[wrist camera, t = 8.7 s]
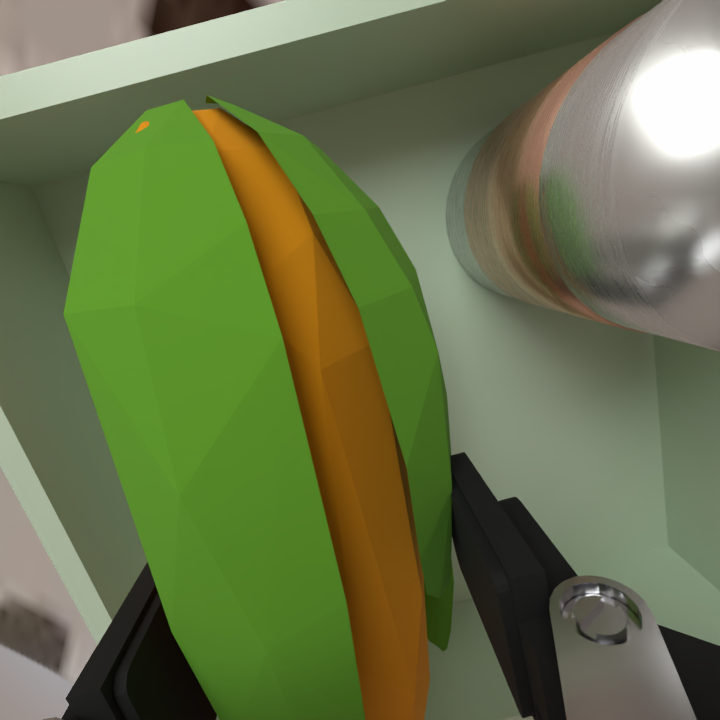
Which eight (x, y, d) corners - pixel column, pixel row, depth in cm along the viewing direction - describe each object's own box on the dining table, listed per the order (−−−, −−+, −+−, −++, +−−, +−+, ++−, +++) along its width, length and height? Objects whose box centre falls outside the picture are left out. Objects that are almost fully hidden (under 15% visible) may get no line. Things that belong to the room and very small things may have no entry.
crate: (11, 173, 15) (-185, 125, 9) (639, 5, 15) (828, -145, 9) (228, 665, 22) (191, 818, 16) (675, 546, 21) (802, 656, 16)
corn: (410, -118, 4) (578, 1008, 9) (379, 115, 11) (483, 669, 17) (-261, 73, 5) (253, 1043, 10) (124, 179, 12) (300, 698, 17)
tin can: (427, 140, 15) (590, -44, 6) (605, 93, 15) (1068, -172, 6) (461, 316, 17) (630, 402, 7) (621, 274, 17) (997, 306, 7)
